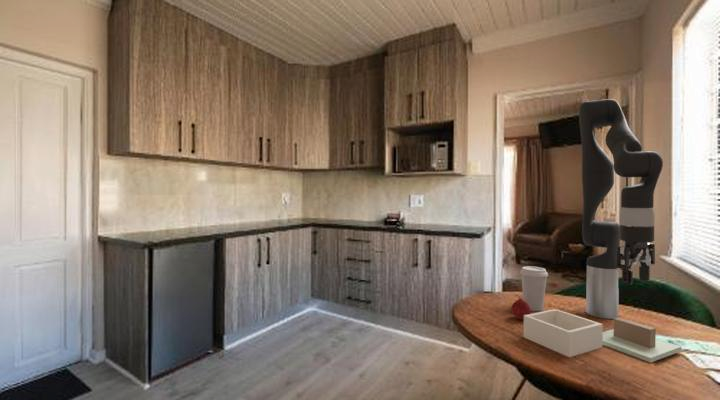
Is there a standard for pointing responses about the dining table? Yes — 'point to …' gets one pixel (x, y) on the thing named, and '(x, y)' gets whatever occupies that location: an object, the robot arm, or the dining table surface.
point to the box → (563, 332)
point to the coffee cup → (534, 286)
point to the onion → (520, 309)
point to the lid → (638, 341)
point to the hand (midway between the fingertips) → (635, 282)
